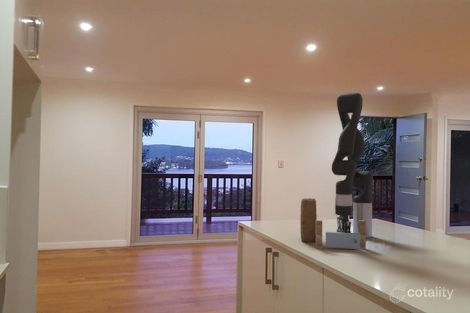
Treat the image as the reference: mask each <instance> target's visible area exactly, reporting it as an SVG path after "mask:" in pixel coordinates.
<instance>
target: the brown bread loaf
mask: <svg viewBox="0 0 470 313" xmlns="http://www.w3.org/2000/svg"><path fill="white" fill-rule="evenodd" d="M317 215H318V214H317V200H316V198H302V199H301V203H300V218H299V219H300V228H299V229H300V240H301V241H302V242H306V243H314V242H316V220H318V219H317V217H318V216H317Z"/></svg>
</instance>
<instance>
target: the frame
mask: <svg viewBox="0 0 470 313" xmlns="http://www.w3.org/2000/svg"><path fill="white" fill-rule="evenodd" d="M358 233H360V249H359V250H366V249H367V246H366V243H367V238H366V221H364V220H359V224H358ZM315 248H316V250H318V249H319V250H322V249H324V250H327V249H328V250H329V249H330V250H331V249H332V250H335V249H339V250H340V249H342V250H344V249H345V250H348V249H347V248H326V246H323V220H321V219H317V220H316V241H315Z"/></svg>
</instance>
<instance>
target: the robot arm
mask: <svg viewBox="0 0 470 313" xmlns="http://www.w3.org/2000/svg"><path fill="white" fill-rule="evenodd" d="M336 108H337V113H338V116H339V120H340V124H341V127H342V131H341V133H340V134H339V138H338V143H337V151H336V154H335V156H334V158H333V160H332V163H331V171H332V174H333V175H335V176H344V177H345V178H344V179H342V180H338V181H336V183H335V197H334V198H335V199H334V201H335V202H334V214H335V215H336V216H337V217H336V219H337V221H336V222H337V229H342V230H343V233H350V231H351V227H353V228H352V233H358V224H359V220H364V221H366V239H369V238H372V237H373V187H374V186H373V185H374V175H373V173H372V171H369V170H357V169H358V168H357V166H358V163H359V161H360V159H361V158H362V156H363V154H364V152H365V150H366V146H365V145H366V144H365V138H364V135H363V133H362V132H361V130H360V129H359V128H358V126H359V124H360V123H359V122H360V119H361V114H362V110H363V96H362V94H361V93H359V92H353V93H352V92H351V93H341V94H339V95H337V97H336ZM349 114H351V116H350V115H349ZM345 158H347V159H345ZM353 189H356V190H363V193H361V194H359V195H355V196H353ZM349 216H353V217H352V221H353V222H352V221H351V220H350V219H349ZM346 230H347V232H346Z"/></svg>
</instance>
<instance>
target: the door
mask: <svg viewBox="0 0 470 313" xmlns="http://www.w3.org/2000/svg"><path fill="white" fill-rule="evenodd" d="M325 247H326V248H347V249H346V250H348V249H350V250H352V249H354V250H361V249H360V233H353V232H351V233H342V232H337V231H325Z"/></svg>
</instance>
